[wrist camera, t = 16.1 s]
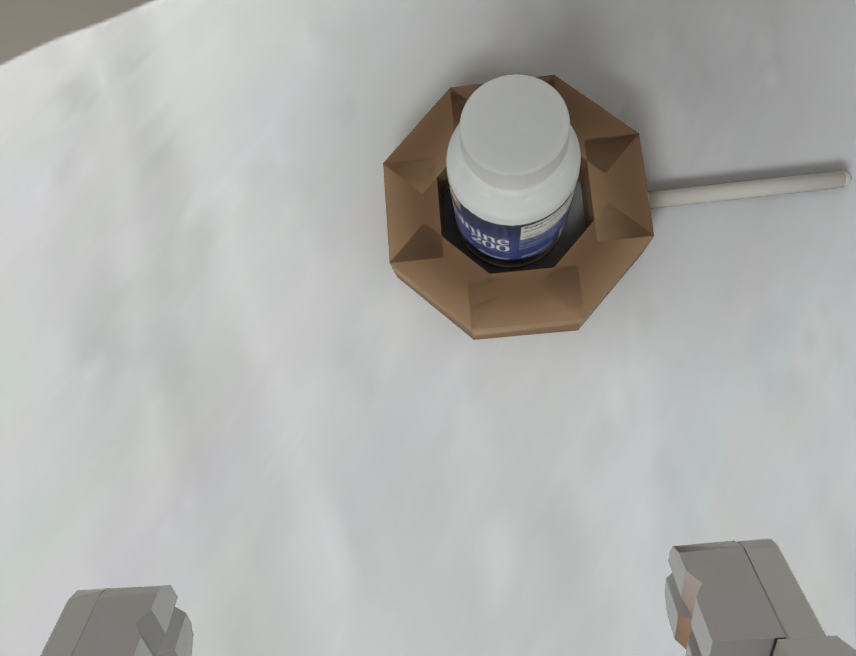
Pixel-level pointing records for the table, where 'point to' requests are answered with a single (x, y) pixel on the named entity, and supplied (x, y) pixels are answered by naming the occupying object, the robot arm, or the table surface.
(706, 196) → the grey rod
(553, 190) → the pill bottle
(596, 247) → the walnut ring
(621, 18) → the table surface
